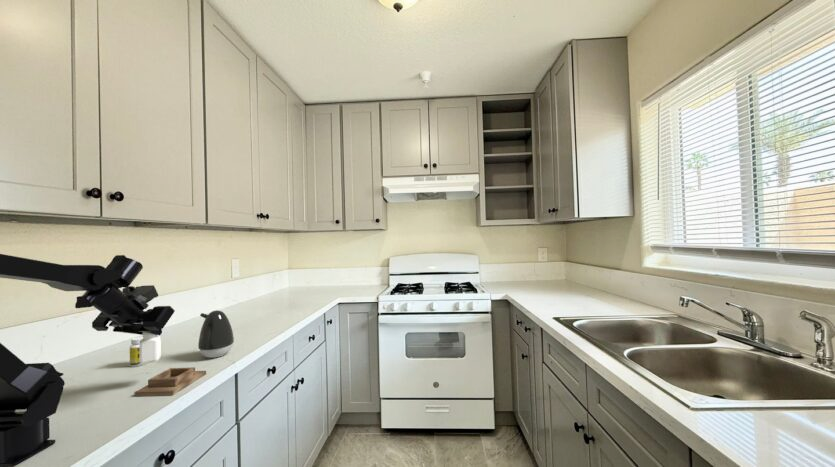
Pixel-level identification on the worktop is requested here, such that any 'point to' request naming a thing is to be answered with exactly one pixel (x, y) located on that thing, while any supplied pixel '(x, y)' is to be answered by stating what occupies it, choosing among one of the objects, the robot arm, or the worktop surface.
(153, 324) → the robot arm
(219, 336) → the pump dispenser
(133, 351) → the supplement bottle
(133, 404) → the worktop surface
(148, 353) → the pepper shaker
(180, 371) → the stand
